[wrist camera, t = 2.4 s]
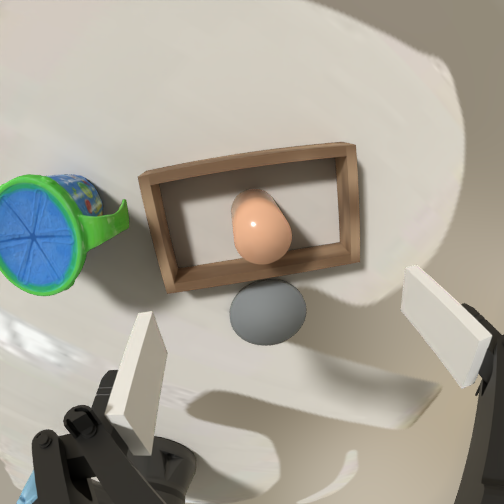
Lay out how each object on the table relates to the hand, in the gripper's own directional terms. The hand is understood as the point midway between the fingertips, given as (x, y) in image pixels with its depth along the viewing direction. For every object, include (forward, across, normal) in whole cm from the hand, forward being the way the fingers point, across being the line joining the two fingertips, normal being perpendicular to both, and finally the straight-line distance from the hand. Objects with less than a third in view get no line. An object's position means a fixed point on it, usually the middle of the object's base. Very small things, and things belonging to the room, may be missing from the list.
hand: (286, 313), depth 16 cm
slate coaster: (+19, 0, +13) cm, 23 cm away
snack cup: (+19, +19, -4) cm, 27 cm away
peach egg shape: (+19, 0, 0) cm, 19 cm away
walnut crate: (+19, 0, 0) cm, 19 cm away
